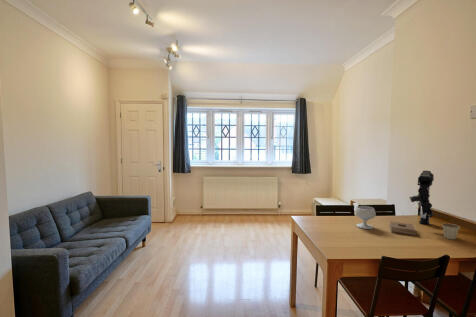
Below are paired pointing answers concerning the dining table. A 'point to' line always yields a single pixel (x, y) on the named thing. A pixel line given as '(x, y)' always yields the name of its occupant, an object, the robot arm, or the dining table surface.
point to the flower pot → (450, 230)
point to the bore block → (402, 228)
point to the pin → (422, 214)
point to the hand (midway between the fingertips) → (423, 213)
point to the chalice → (365, 216)
